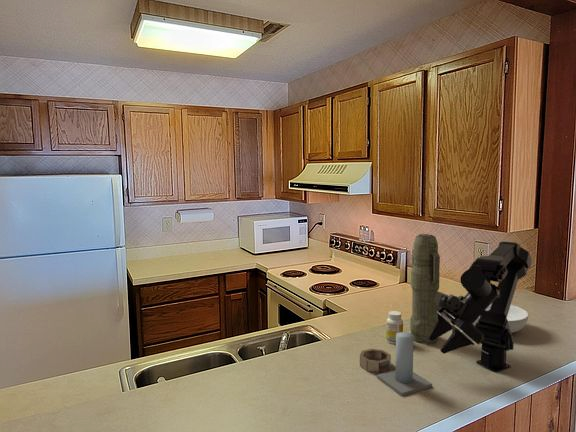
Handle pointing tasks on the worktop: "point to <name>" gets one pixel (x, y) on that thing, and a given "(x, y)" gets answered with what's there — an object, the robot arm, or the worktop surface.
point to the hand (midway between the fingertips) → (435, 345)
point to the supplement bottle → (393, 326)
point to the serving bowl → (513, 318)
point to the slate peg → (404, 357)
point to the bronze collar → (375, 366)
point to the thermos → (424, 287)
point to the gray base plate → (404, 388)
